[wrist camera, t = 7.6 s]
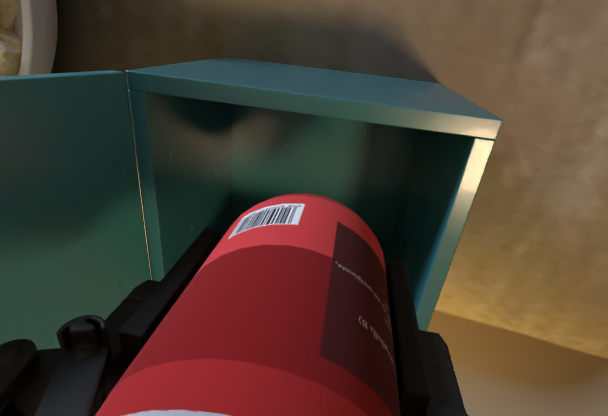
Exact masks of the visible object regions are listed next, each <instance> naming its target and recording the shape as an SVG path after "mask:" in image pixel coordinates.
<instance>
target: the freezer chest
mask: <svg viewBox="0 0 608 416" xmlns="http://www.w3.org/2000/svg"><path fill="white" fill-rule="evenodd" d="M126 75H127V83H128V89H129V91H128V92H129V100H130V108H131V116H132V124H133V132H134V140H135V148H136V156H137V164H138V172H139V180H140V189H141V197H142V205H143V213H144V221H145V229H146V237H147V245H148V253H149V261H150V268H151V277H152V280H154V281H159V282H160V281H161V280H162V279H163V278H164V276H165V275H166V274H167V273H168V272H169V270H170V269H171V268H172V267H173V266H174V264H175V263H176V262H177V261H178V260H179V259H180V257H181V256H182V255H183V254H184V253H185V251H186V250H187V249H188V248H189V247H190V245H191V244H192V243H193V242H194V241H195V239H196V238H197V237H198V236H199V235H200V233H201V232H202V231H203V230H204V229H205V228H206V227H208V228H213V229H219V230H221V239H222V237H223V236H224V234H225V233H226V232H227V230H228V229H229V228H230V226H231V225H232V224H233V223H234V222H235V221H236V220H237V219H238V217H239V216H240V215H241V214H243V213H244V212H246V211H247V210H249V209H250V208H252V207H253V206H255V205H257V204H259V203H261V202H264V201H266V200H269V199H271V198H274V197H276V196H281V195H286V194H291V193H308V194H314V195H320V196H325V197H327V198H330V199H333V200H335V201H338V202H340V203H342V204H343V205H345V206H347V207H348V208H350V209H351V210H353V211H354V212H355V213H356V214H357V215H358V216H359V217H360V218H362V219H363V220H364V222H365V223H366V224H367V225H368V227H369V228H370V229H371V231H372V232H373V234H374V235H375V236H376V238H377V240H378V242H379V244H380V247H381V249H382V252H383V256H384V262H385V269H386V268H387V265H388V261H389V259H394V260H400V261H406V264H407V269H408V274H409V280H410V285H411V290H412V295H413V301H414V306H415V311H416V317H417V322H418V327H419V330H422V331H427V328H428V326H429V323H430V320H431V317H432V314H433V312H434V309H435V306H436V303H437V301H438V298H439V295H440V292H441V290H442V287H443V284H444V281H445V278H446V276H447V273H448V270H449V267H450V265H451V262H452V259H453V256H454V254H455V251H456V248H457V245H458V242H459V240H460V237H461V234H462V231H463V229H464V226H465V223H466V220H467V218H468V215H469V212H470V209H471V206H472V204H473V201H474V198H475V195H476V193H477V190H478V187H479V184H480V182H481V179H482V176H483V173H484V170H485V168H486V165H487V162H488V159H489V157H490V154H491V151H492V148H493V146H494V143H495V139H496V137H497V135H498V132H499V129H500V126H501V123H502V119H500V118H498V117H497V116H495V115H493V114H492V113H490V112H488V111H486V110H485V109H483V108H481V107H480V106H478V105H476V104H475V103H473V102H471V101H469V100H468V99H466V98H464V97H463V96H461V95H459V94H458V93H456V92H454V91H453V90H451V89H449V88H447V87H446V86H444V85H442V84H440V83H433V82H425V81H417V80H409V79H401V78H393V77H385V76H377V75H369V74H361V73H353V72H344V71H336V70H328V69H320V68H312V67H304V66H296V65H288V64H280V63H272V62H264V61H256V60H247V59H239V58H231V57H222V58H214V59H207V60H200V61H192V62H185V63H178V64H170V65H163V66H155V67H148V68H141V69H133V70H127V71H126Z"/></svg>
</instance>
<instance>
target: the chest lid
mask: <svg viewBox="0 0 608 416" xmlns="http://www.w3.org/2000/svg"><path fill="white" fill-rule="evenodd" d="M146 280H151V276H150V269H149V261H148V253H147V245H146V237H145V229H144V221H143V213H142V205H141V197H140V189H139V181H138V173H137V165H136V157H135V149H134V141H133V133H132V125H131V117H130V109H129V101H128V93H127V85H126V77H125V73H123V72H119V71H114V70H108V71H90V72H72V73H53V74H35V75H17V76H0V345H1V344H3V343H5V342H8V341H12V340H15V339H28V340H32V341H33V342H34V343H35V345H36V347H37V350H42V349H55V348H61V347H60V344H59V341H58V338H57V334H56V333H57V331H58V330H59V329H60V327H61V326H62V325H64V324H65V323H66V322H68V321H70V320H72V319H74V318H76V317H79V316H84V315H97V316H99V317H102V318H103V320H104V321H105V320H106V319H107V317H108V316H109V315H110V314H111V313H112V312H113V311H114V310H115V309H116V308H117V307H118V305H119V306H120V303H121V302H122V301H123V300H124V299H125V298H127V296H128V295H129V294H130V292H131V291H132V290H133V289H134V288H135V287H136V286H138V285H139V284H141V283H143V282H145V281H146Z"/></svg>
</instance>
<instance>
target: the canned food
mask: <svg viewBox="0 0 608 416" xmlns="http://www.w3.org/2000/svg"><path fill="white" fill-rule="evenodd" d="M95 416H401V413H400V403H399V394H398V384H397V375H396V365H395V355H394V346H393V336H392V327H391V317H390V307H389V298H388V288H387V279H386V269H385V262H384V256H383V252H382V249H381V247H380V244H379V242H378V240H377V238H376V236H375V235H374V234H373V232H372V231H371V229H370V228H369V227H368V225H367V224H366V223H365V222H364V220H363V219H362V218H360V217H359V216H358V215H357V214H356V213H355V212H354V211H353V210H351V209H350V208H348V207H347V206H345V205H343V204H342V203H340V202H338V201H335V200H333V199H330V198H327V197H325V196H320V195H314V194H308V193H291V194H286V195H281V196H276V197H274V198H271V199H269V200H266V201H264V202H261V203H259V204H257V205H255V206H253V207H252V208H250V209H249V210H247V211H246V212H244V213H243V214H241V215H240V216H239V217H238V219H237V220H236V221H235V222H234V223H233V224H232V225H231V226H230V228H229V229H228V230H227V232H226V233H225V234H224V236H223V237H222V239H221V240H220V241H219V243H218V244H217V246H216V247H215V248H214V250H213V251H212V252H211V254H210V255H209V257H208V258H207V259H206V261H205V262H204V263H203V265H202V266H201V268H200V269H199V270H198V272H197V273H196V275H195V276H194V277H193V279H192V280H191V281H190V283H189V284H188V286H187V287H186V288H185V290H184V291H183V293H182V294H181V295H180V297H179V298H178V299H177V301H176V302H175V304H174V305H173V306H172V308H171V309H170V310H169V312H168V313H167V315H166V316H165V317H164V319H163V320H162V322H161V323H160V324H159V326H158V327H157V328H156V330H155V331H154V333H153V334H152V335H151V337H150V338H149V340H148V341H147V342H146V344H145V345H144V346H143V348H142V349H141V351H140V352H139V353H138V355H137V356H136V357H135V359H134V360H133V362H132V363H131V364H130V366H129V367H128V369H127V370H126V371H125V373H124V374H123V375H122V377H121V378H120V380H119V381H118V382H117V384H116V385H115V387H114V388H113V389H112V391H111V392H110V394H109V395H108V397H107V398H106V400H105V402H104V403H103V405H102V406H101V408H100V409H99V410H98V412H97V413H96V415H95Z"/></svg>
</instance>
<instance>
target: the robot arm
mask: <svg viewBox="0 0 608 416" xmlns="http://www.w3.org/2000/svg"><path fill="white" fill-rule="evenodd" d="M220 240H221V230H219V229H213V228H208V227H206V228H205V229H204V230H203V231H202V232H201V233H200V235H199V236H198V237H197V238H196V239H195V241H194V242H193V243H192V244H191V245H190V247H189V248H188V249H187V250H186V251H185V253H184V254H183V255H182V256H181V257H180V259H179V260H178V261H177V262H176V263H175V264H174V266H173V267H172V268H171V269H170V270H169V272H168V273H167V274H166V275H165V276H164V278H163V279H162V280H161V281H160V282H159V281H154V280H146V281H145V282H143V283H141V284H139V285H138V286H136V287H135V288H134V289H133V290H132V291H131V292H130V294H129V295H128V296H127V298H125V299H124V300H123V301H122V302H121V303H120V306H119V305H118V307H117V308H116V309H115V310H114V311H113V312H112V313H111V314H110V315H109V316H108V317H107V319H106V320H105V321H104V320H103V318H102V317H99V316H97V315H84V316H79V317H76V318H74V319H72V320H70V321H68V322H66V323H65V324H64V325H62V326H61V327H60V329H59V330H58V331H57V333H56V334H57V338H58V341H59V344H60V347H61V348H55V349H42V350H37V347H36V345H35V343H34V342H33V341H32V340H28V339H15V340H12V341H8V342H5V343H3V344H1V345H0V416H95V415H96V413H97V412H98V410H99V409H100V408H101V406H102V405H103V403H104V402H105V400H106V398H107V397H108V395H109V394H110V392H111V391H112V389H113V388H114V387H115V385H116V384H117V382H118V381H119V380H120V378H121V377H122V375H123V374H124V373H125V371H126V370H127V369H128V367H129V366H130V364H131V363H132V362H133V360H134V359H135V357H136V356H137V355H138V353H139V352H140V351H141V349H142V348H143V346H144V345H145V344H146V342H147V341H148V340H149V338H150V337H151V335H152V334H153V333H154V331H155V330H156V328H157V327H158V326H159V324H160V323H161V322H162V320H163V319H164V317H165V316H166V315H167V313H168V312H169V310H170V309H171V308H172V306H173V305H174V304H175V302H176V301H177V299H178V298H179V297H180V295H181V294H182V293H183V291H184V290H185V288H186V287H187V286H188V284H189V283H190V281H191V280H192V279H193V277H194V276H195V275H196V273H197V272H198V270H199V269H200V268H201V266H202V265H203V263H204V262H205V261H206V259H207V258H208V257H209V255H210V254H211V252H212V251H213V250H214V248H215V247H216V246H217V244H218V243H219V241H220ZM386 279H387V288H388V298H389V307H390V317H391V327H392V336H393V346H394V355H395V365H396V375H397V384H398V394H399V403H400V413H401V416H468V415H467V413H466V411H465V408H464V405H463V401H462V397H461V394H460V390H459V386H458V383H457V379H456V375H455V372H454V371H453V364H452V361H451V357H450V354H449V350H448V346H447V344H446V343H445V342H444V340H443V339H442V337H441V336H440V335H439V334H438V333H433V332H427V331H422V330H419V327H418V322H417V317H416V311H415V306H414V301H413V295H412V290H411V285H410V280H409V274H408V269H407V264H406V261H400V260H394V259H389V261H388V265H387V268H386Z"/></svg>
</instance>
